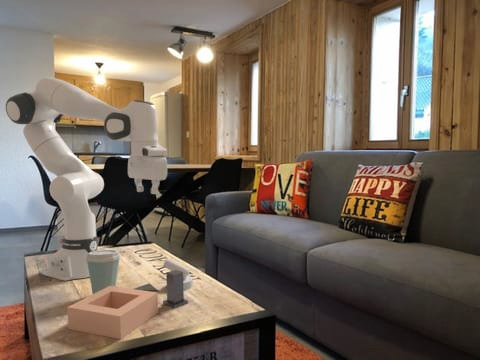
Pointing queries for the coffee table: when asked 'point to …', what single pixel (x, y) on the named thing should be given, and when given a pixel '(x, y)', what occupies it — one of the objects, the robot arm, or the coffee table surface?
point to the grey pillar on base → (175, 290)
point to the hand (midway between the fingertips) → (147, 192)
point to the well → (113, 311)
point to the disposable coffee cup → (103, 268)
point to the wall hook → (175, 266)
